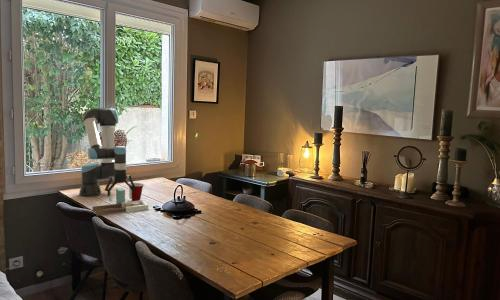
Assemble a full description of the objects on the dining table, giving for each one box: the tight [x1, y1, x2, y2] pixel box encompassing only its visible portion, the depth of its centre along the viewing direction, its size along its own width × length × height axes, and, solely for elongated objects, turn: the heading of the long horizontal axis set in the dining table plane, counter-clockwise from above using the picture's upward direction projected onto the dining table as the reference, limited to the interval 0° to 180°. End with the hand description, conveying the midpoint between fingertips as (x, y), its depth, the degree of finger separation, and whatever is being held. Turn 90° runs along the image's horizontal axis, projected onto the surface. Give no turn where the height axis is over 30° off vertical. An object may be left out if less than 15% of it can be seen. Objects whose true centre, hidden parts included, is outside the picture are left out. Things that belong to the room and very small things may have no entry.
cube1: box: [124, 201, 132, 208], centre depth 253 cm, size 4×4×4 cm
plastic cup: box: [128, 182, 145, 202], centre depth 275 cm, size 11×11×12 cm
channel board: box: [92, 203, 127, 217], centre depth 247 cm, size 13×18×2 cm
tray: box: [121, 199, 149, 213], centre depth 255 cm, size 13×14×3 cm
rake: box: [115, 187, 126, 204], centre depth 261 cm, size 8×4×11 cm, turn 32°
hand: (120, 199), depth 262 cm, fingers open, 13 cm apart
